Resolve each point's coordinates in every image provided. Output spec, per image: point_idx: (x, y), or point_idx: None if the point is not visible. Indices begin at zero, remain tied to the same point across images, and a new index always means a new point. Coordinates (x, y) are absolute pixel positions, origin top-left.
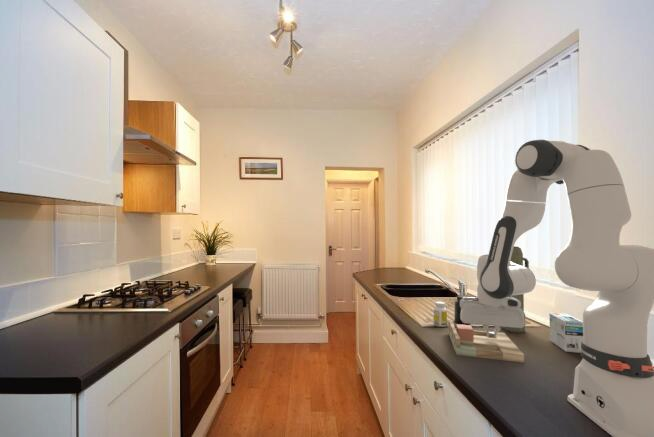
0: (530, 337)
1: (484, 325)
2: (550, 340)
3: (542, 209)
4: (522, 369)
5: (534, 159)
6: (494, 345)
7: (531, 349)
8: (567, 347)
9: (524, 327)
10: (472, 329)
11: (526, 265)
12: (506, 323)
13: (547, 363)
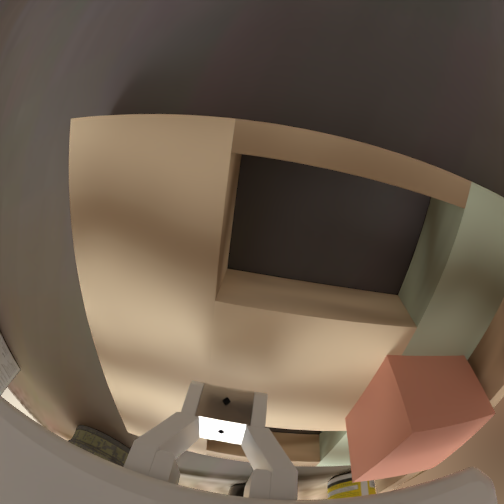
0: (60, 399)
1: (294, 493)
2: (17, 367)
3: None
4: (172, 6)
5: None
6: (242, 302)
7: (48, 316)
8: None
9: (72, 437)
10: (411, 437)
11: None
12: (48, 465)
13: (17, 156)
